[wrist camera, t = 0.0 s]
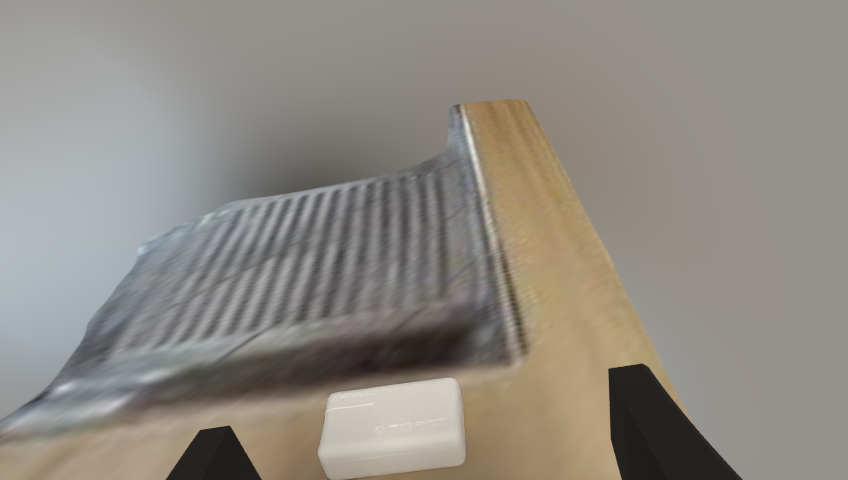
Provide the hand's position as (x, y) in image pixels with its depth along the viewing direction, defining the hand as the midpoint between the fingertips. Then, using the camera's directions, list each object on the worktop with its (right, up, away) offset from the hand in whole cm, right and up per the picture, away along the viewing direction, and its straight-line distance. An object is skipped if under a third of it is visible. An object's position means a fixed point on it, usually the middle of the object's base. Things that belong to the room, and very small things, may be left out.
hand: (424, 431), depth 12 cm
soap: (-2, -10, +29) cm, 30 cm away
